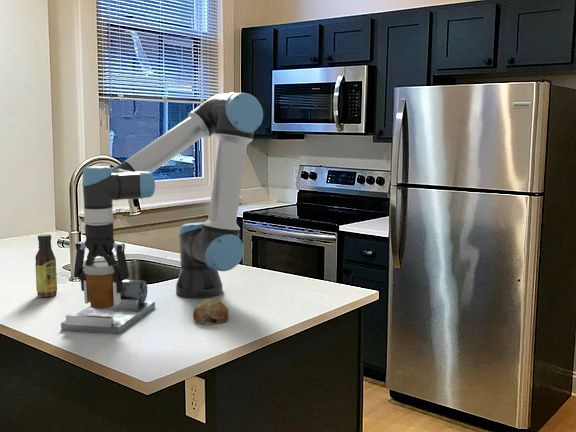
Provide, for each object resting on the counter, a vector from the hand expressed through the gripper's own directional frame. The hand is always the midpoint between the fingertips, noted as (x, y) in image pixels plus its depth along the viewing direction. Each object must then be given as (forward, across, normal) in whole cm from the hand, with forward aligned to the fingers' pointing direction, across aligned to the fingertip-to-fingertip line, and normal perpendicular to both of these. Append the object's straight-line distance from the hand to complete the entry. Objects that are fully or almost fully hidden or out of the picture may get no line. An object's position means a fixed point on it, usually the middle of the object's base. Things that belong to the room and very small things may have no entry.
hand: (102, 302), depth 182 cm
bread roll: (+6, -29, -9) cm, 31 cm away
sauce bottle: (+6, +31, -22) cm, 38 cm away
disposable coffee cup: (+1, 0, 0) cm, 1 cm away
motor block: (+6, 0, -4) cm, 7 cm away
